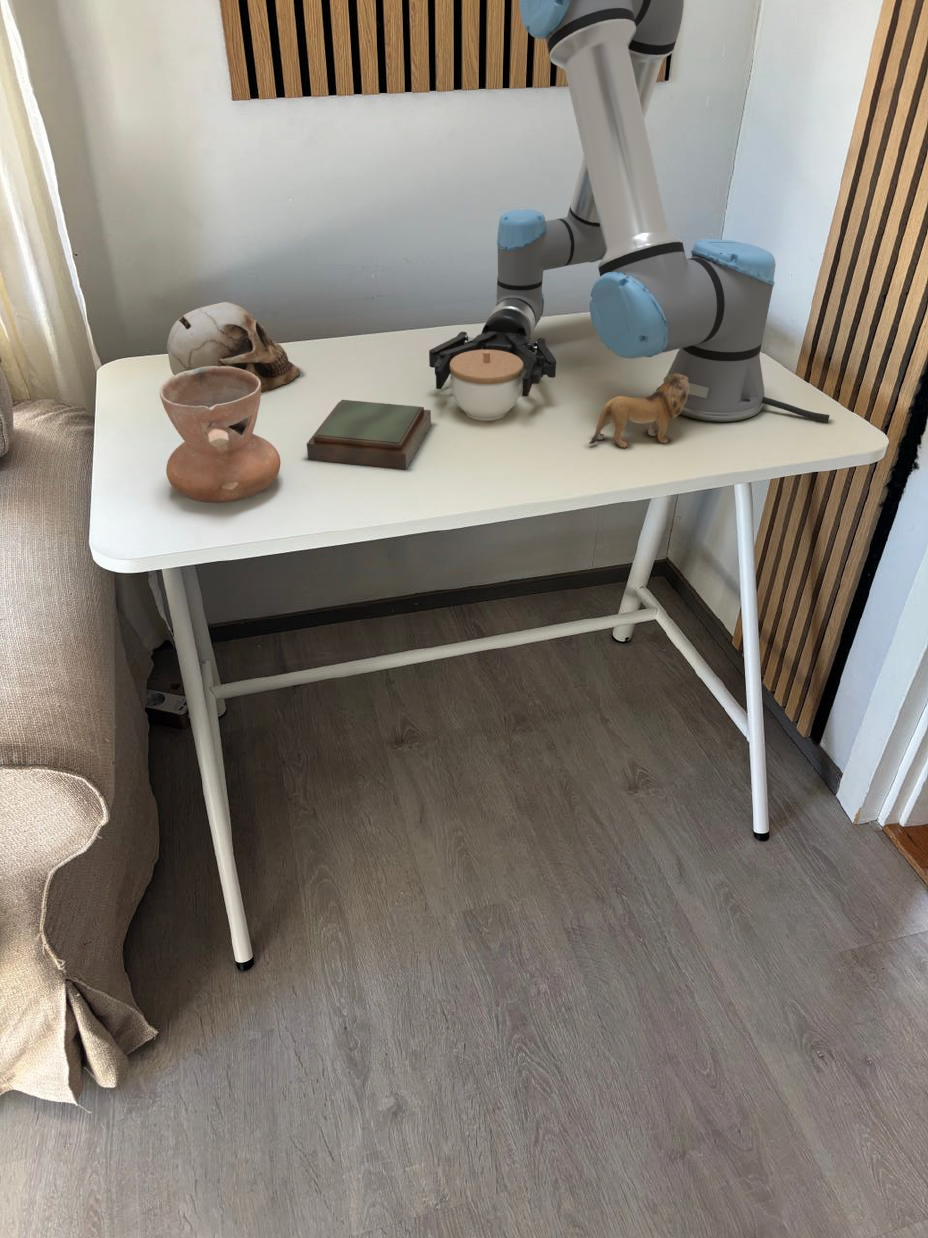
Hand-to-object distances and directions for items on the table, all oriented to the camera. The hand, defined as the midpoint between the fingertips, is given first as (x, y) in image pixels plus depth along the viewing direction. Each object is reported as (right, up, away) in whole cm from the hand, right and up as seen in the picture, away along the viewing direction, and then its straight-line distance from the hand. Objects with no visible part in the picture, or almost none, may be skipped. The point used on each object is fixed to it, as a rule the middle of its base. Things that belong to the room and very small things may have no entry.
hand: (481, 383), depth 138 cm
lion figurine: (+22, -8, -1) cm, 24 cm away
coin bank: (-39, +4, +16) cm, 42 cm away
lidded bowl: (+1, -3, +7) cm, 7 cm away
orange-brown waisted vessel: (-34, -16, -11) cm, 39 cm away
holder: (-16, -9, -1) cm, 18 cm away
